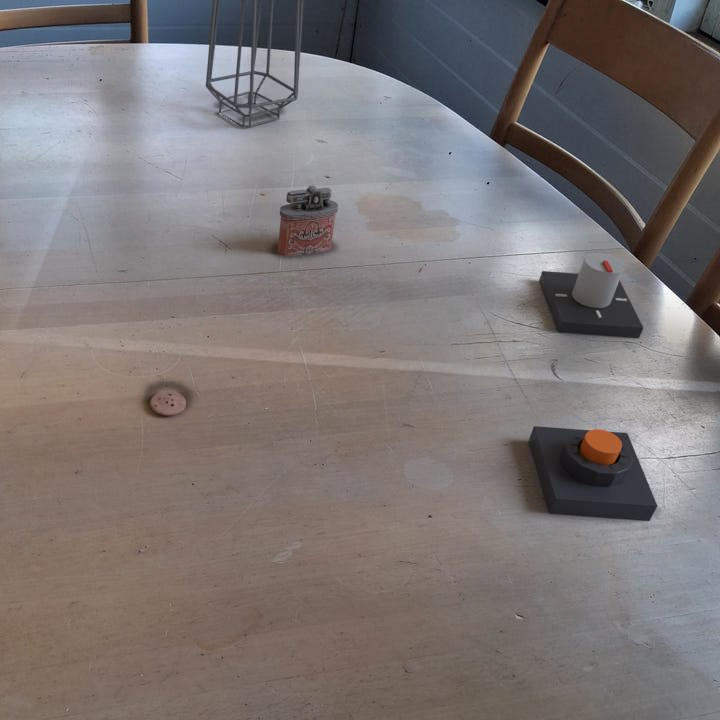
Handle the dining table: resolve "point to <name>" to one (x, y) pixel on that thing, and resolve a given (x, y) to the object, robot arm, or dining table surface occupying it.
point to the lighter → (307, 222)
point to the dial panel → (588, 309)
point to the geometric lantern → (253, 65)
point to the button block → (589, 478)
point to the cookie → (168, 403)
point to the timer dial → (597, 280)
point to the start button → (600, 447)
